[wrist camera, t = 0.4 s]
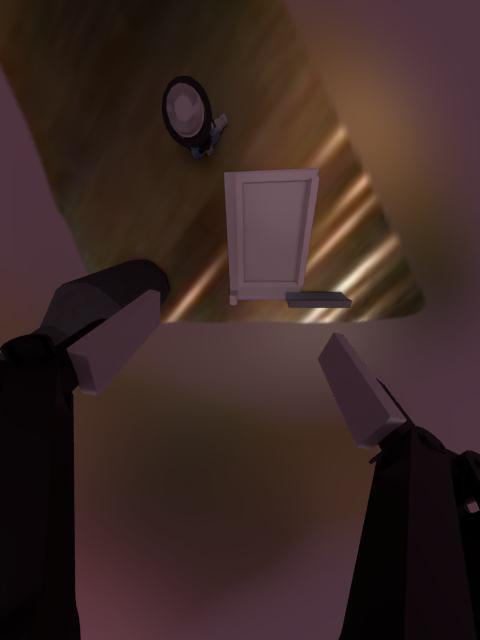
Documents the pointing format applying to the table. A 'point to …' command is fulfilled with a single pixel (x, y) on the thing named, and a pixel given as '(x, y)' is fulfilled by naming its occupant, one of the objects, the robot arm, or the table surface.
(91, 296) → the bottle
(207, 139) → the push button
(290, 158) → the table surface
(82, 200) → the table surface
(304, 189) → the tray
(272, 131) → the table surface
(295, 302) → the dark slender plank
